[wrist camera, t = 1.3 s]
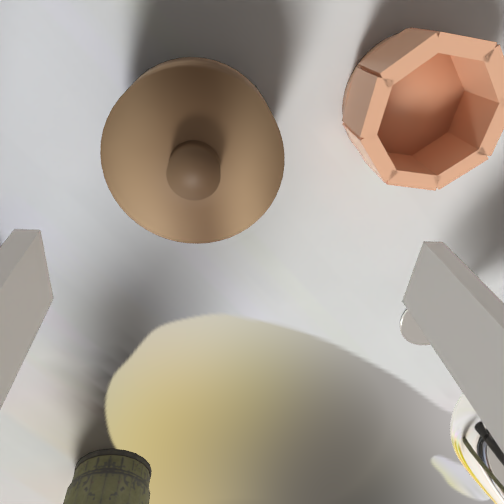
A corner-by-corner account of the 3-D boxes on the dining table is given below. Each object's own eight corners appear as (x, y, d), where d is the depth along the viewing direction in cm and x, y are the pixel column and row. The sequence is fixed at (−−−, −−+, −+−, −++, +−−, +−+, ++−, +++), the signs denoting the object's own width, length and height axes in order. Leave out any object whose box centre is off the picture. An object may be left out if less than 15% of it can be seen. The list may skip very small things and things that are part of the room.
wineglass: (423, 274, 37) (572, 468, 22) (491, 298, 39) (670, 490, 24) (374, 338, 41) (473, 543, 25) (440, 357, 43) (566, 556, 28)
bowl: (328, 154, 30) (347, 179, 26) (363, 18, 26) (393, 22, 22) (437, 168, 32) (472, 195, 28) (489, 42, 27) (540, 50, 23)
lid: (115, 206, 28) (96, 248, 23) (114, 43, 23) (89, 54, 18) (260, 221, 29) (270, 264, 25) (289, 71, 24) (308, 89, 20)
